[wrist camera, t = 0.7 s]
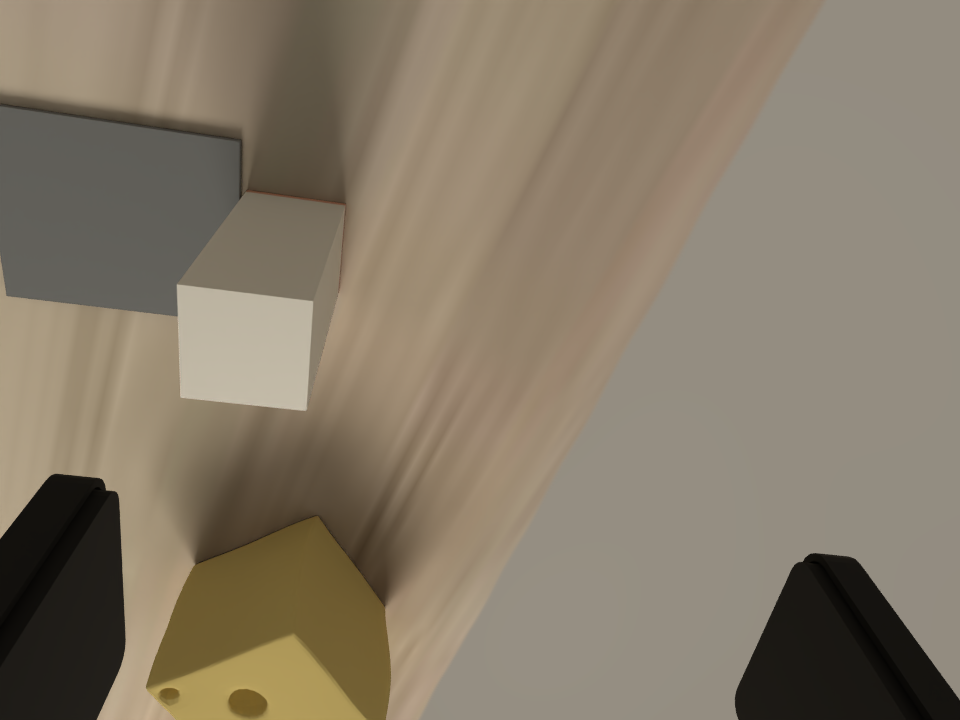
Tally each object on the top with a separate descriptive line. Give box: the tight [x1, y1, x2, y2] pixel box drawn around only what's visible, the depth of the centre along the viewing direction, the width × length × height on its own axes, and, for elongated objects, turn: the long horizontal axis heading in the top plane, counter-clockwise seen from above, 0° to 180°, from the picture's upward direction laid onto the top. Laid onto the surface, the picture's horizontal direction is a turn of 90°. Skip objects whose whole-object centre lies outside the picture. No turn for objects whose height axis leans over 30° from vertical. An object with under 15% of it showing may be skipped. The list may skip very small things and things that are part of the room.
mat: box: [0, 104, 241, 316], centre depth 39 cm, size 10×12×1 cm
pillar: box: [177, 190, 346, 411], centre depth 35 cm, size 5×5×12 cm
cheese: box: [146, 516, 391, 720], centre depth 48 cm, size 10×11×10 cm
